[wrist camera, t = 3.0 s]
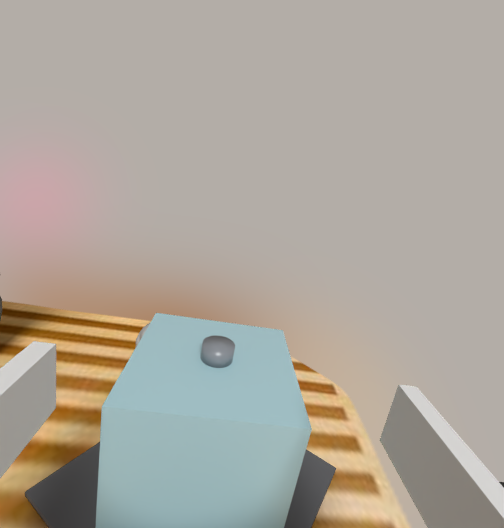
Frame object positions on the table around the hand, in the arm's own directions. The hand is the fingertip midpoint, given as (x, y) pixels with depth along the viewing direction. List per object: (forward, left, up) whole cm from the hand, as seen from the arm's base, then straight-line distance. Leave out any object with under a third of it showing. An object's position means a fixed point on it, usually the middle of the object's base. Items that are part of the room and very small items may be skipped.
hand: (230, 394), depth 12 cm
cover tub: (-6, +8, -15) cm, 18 cm away
